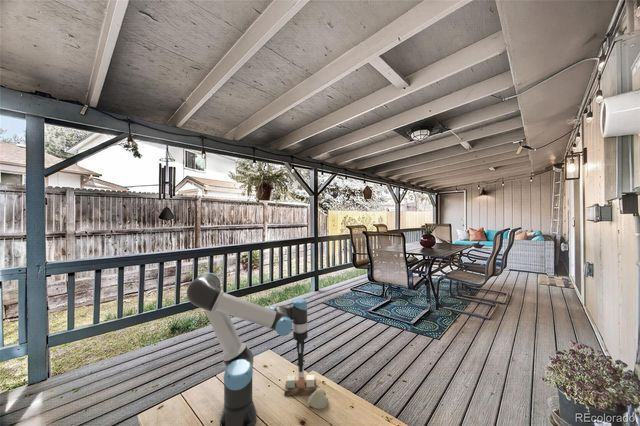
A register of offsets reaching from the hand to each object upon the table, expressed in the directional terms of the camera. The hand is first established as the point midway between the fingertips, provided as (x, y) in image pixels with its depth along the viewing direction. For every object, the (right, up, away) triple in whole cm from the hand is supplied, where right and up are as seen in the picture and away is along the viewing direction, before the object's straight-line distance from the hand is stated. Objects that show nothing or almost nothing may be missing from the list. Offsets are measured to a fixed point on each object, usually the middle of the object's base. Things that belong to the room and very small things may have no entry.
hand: (301, 376), depth 125 cm
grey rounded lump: (+9, -6, -10) cm, 15 cm away
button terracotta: (0, -4, 0) cm, 4 cm away
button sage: (-5, -4, 0) cm, 7 cm away
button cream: (+5, -4, 0) cm, 6 cm away
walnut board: (0, -6, 0) cm, 6 cm away
